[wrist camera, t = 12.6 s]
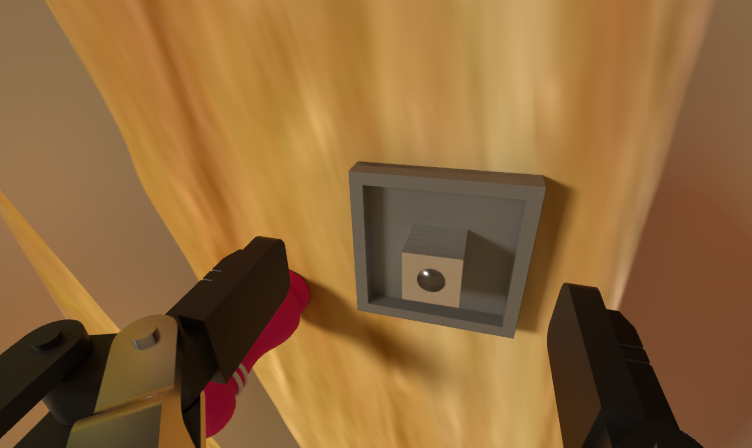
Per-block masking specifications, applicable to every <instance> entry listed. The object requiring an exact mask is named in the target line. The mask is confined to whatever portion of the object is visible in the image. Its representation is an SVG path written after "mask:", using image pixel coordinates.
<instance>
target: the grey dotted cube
mask: <svg viewBox="0 0 752 448" xmlns="http://www.w3.org/2000/svg"><path fill="white" fill-rule="evenodd" d="M467 232H468V229H459V228H450V227H440V226H431V225H421V224H413V226H412V229H411V231H410V234H409V236H408V239H407V241H406V244H405V246H404V249H403V251H402V299H406V300H412V301H419V302H425V303H431V304H437V305H444V306H450V307H456V308H459V303H460V296H461V288H462V281H463V274H464V263H465V253H466V243H467Z"/></svg>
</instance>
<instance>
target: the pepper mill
mask: <svg viewBox="0 0 752 448" xmlns="http://www.w3.org/2000/svg"><path fill="white" fill-rule="evenodd" d="M289 274H290V288H289V292H288V294H287V297H286V298H285V300H284V301H283V303H282V304H281V306H280V307H279V309H278V310H277V311H276V313H275V314H274V316H273V317H272V319H271V320H270V322H269V323H268V324H267V326H266V327H265V329H264V330H263V332H262V333H261V335H260V336H259V338H258V339H257V340H256V342H255V343H254V345H253V346H252V348H251V349H250V351H249V352H248V354H247V355H246V356H245V358H244V359H243V361H242V362H241V364H240V365H239V367H238V368H237V369H236V371H235V372H234V374H233V375H232V377H231V378H230V380H229V381H228V383H227V384H226V385H224V384H220V383H216V382H212V381H209V383H208V384H207V386H206V387H205V388H204V390H203V391H204V394H205V423H206V438H209V437H211V436H213V435H215V434H217V433H218V432H219V431H220V430H221V429H223V428H224V427H225V425H226V424H227V423H228V422H229V420H230V419H231V417H232V415H233V413H234V410H235V407H236V399H235V397H236V396H238V395H240V394H241V393H242V391H243V388H244V387H245V386H246V385H247V383H248V381H249V376H248V374H249V372H250V370H251V368H252V367H253V365H254V364H255V363H256V362H257V360H258V359H259V358H260V357H261V356H262V355H263V354H265V353H266V352H268V351H269V350H271V349H273V348H275V347H277V346H278V345H280V344H282V343H283V342H285V341H286V340H287V339H288V338H289V337H290V336H291V335H292V334H293V333H294V331H295V330H296V329H297V327H298V325H299V322H300V314H301V313H302V312H303V310H304V309H305V307H306V306H307V304H308V302H309V300H310V291H309V288H308V286H307V284H306V283H305V281H304V280H303V279H302V278H301V277H300V276H299V275H297V274H296V273H294V272H292V271H290V270H289Z"/></svg>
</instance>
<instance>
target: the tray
mask: <svg viewBox="0 0 752 448" xmlns="http://www.w3.org/2000/svg"><path fill="white" fill-rule="evenodd" d="M349 184H350V199H351V214H352V229H353V245H354V260H355V275H356V290H357V305H358V310H359V311H365V312H370V313H376V314H381V315H387V316H392V317H398V318H403V319H409V320H414V321H420V322H425V323H431V324H436V325H442V326H447V327H453V328H458V329H464V330H469V331H475V332H480V333H486V334H491V335H497V336H502V337H508V338H513V339H514V335H515V330H516V325H517V321H518V316H519V311H520V307H521V302H522V297H523V293H524V288H525V283H526V279H527V274H528V270H529V265H530V260H531V256H532V251H533V246H534V242H535V237H536V232H537V228H538V223H539V218H540V214H541V209H542V204H543V200H544V195H545V191H546V185H545V181H544V177H543V175H531V174H518V173H504V172H491V171H477V170H464V169H451V168H437V167H424V166H411V165H397V164H384V163H371V162H357V163H356V164H355V165H354V166H353V167H352V168H351V169H350V170H349ZM413 224H421V225H431V226H440V227H450V228H459V229H468V232H467V243H466V253H465V263H464V274H463V281H462V288H461V296H460V303H459V308H456V307H450V306H444V305H437V304H431V303H425V302H419V301H412V300H406V299H402V251H403V249H404V246H405V244H406V241H407V239H408V236H409V234H410V231H411V229H412V226H413Z"/></svg>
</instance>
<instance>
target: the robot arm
mask: <svg viewBox="0 0 752 448" xmlns="http://www.w3.org/2000/svg"><path fill="white" fill-rule="evenodd" d="M289 288H290V274H289V268H288V262H287V255H286V249H285V244H284V242H283V241H282V240H281V239H275V238H269V237H262V236H257V237H255V238H254V239H253V240H252V241H251V242H250V243H249V244H248V245H247V246H246V247H245V248H244V249H243V250H240V249H239V250H237V251H236V252H234V253H232V254H230V255H228V256H226V257H225V258H223V259H222V260H221V261H220V262H219V263H218V264H217V265H216V266H215V267H214V268H213V269H212V271H210V272H209V273H208V274H207V275H206V276H205V277H204V278H203V280H200V281H199V282H198V283H197V284H196V285H195V286H194V287H193V288H192V289H191V290H190V291H189V292H188V293H187V294H186V295H185V296H184V297H183V298H182V299H181V300H180V301H179V302H178V303H177V304H176V305H174V307H172V308H171V309H170V310H169V311H168V312H167V313H166V314H165V315H162V314H158V315H150V316H146V317H143V318H141V319H138V320H136V321H134V322H132V323H130V324H129V325H127V326H126V327H124V328H123V329H122V330H121V331H120V332H119V333H116V334H102V335H89V334H88V333H87V331H86V329H85V327H84V326H83V324H82V323H81V322H79V321H77V320H71V319H68V320H59V321H55V322H52V323H49V324H46V325H44V326H41V327H39V328H37V329H35V330H34V331H32V332H30V333H29V334H27V335H26V336H24V337H23V338H22V339H20V340H19V341H18V342H17V343H15V344H14V345H12V346H11V347H10V348H9V349H7V350H6V351H5V352H3V353H2V354H1V355H0V439H1V437H2V436H3V435H5V434H6V433H7V431H9V430H10V429H11V428H12V427H13V426H14V425H15V424H16V423H17V422H18V421H19V420H20V419H21V418H23V417H24V416H25V415H26V414H27V413H28V412H29V411H30V410H31V409H32V408H33V407H34V406H35V405H36V404H37V403H38V402H39V401H41V400H42V401H43V402H44V404H45V405H46V406H47V408H48V409H49V410H50V412H49V413H48V414H47V415H46V416H45V417H44V418H43V419H42V420H41V421H40V422H39V423H38V424H37V425H36V426H35V427H34V428H32V429H31V430H30V432H29V433H28V434H26V436H24V437H23V439H21V440H20V442H18V443H17V444H16V445H15V446H14V447H13V448H206V423H205V394H204V391H203V390H204V388H205V387H206V386H207V384H208V383H209V381H212V382H216V383H220V384H224V385H226V384H227V383H228V381H229V380H230V378H231V377H232V375H233V374H234V372H235V371H236V369H237V368H238V367H239V365H240V364H241V362H242V361H243V359H244V358H245V356H246V355H247V354H248V352H249V351H250V349H251V348H252V346H253V345H254V343H255V342H256V340H257V339H258V338H259V336H260V335H261V333H262V332H263V330H264V329H265V327H266V326H267V324H268V323H269V322H270V320H271V319H272V317H273V316H274V314H275V313H276V311H277V310H278V309H279V307H280V306H281V304H282V303H283V301H284V300H285V298H286V297H287V294H288V292H289ZM547 348H548V355H549V361H550V367H551V373H552V379H553V385H554V391H555V398H556V404H557V410H558V416H559V422H560V428H561V434H562V440H563V447H564V448H704V447H703V446H702V445H701V444H700V443H698V442H697V441H696V440H695V439H693V438H692V437H691V436H689V435H688V434H687V433H685V432H683V431H682V430H680V428H679V427H678V424H677V422H676V420H675V418H674V415H673V413H672V411H671V408H670V406H669V404H668V402H667V399H666V398H665V395H664V393H663V390H662V388H661V386H660V384H659V381H658V379H657V377H656V374H655V372H654V370H653V368H652V366H651V365H650V364H649V363H650V361H649V359H648V356H647V354H646V352H645V350H643V345H642V343H641V340H640V338H639V336H638V334H637V331H636V329H635V328H634V326H633V325H632V324H631V323H630V322H629V321H628V320H627V319H626V318H625V317H624V316H623V315H622V314H621V313H620V312H619V311H615V310H609V309H606V307H605V305H604V302H603V299H602V297H601V294H600V291H599V289H598V288H597V287H591V286H584V285H577V284H571V283H564V284H563V285H562V287H561V290H560V293H559V296H558V299H557V302H556V305H555V308H554V311H553V314H552V317H551V320H550V323H549V327H548V334H547Z"/></svg>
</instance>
